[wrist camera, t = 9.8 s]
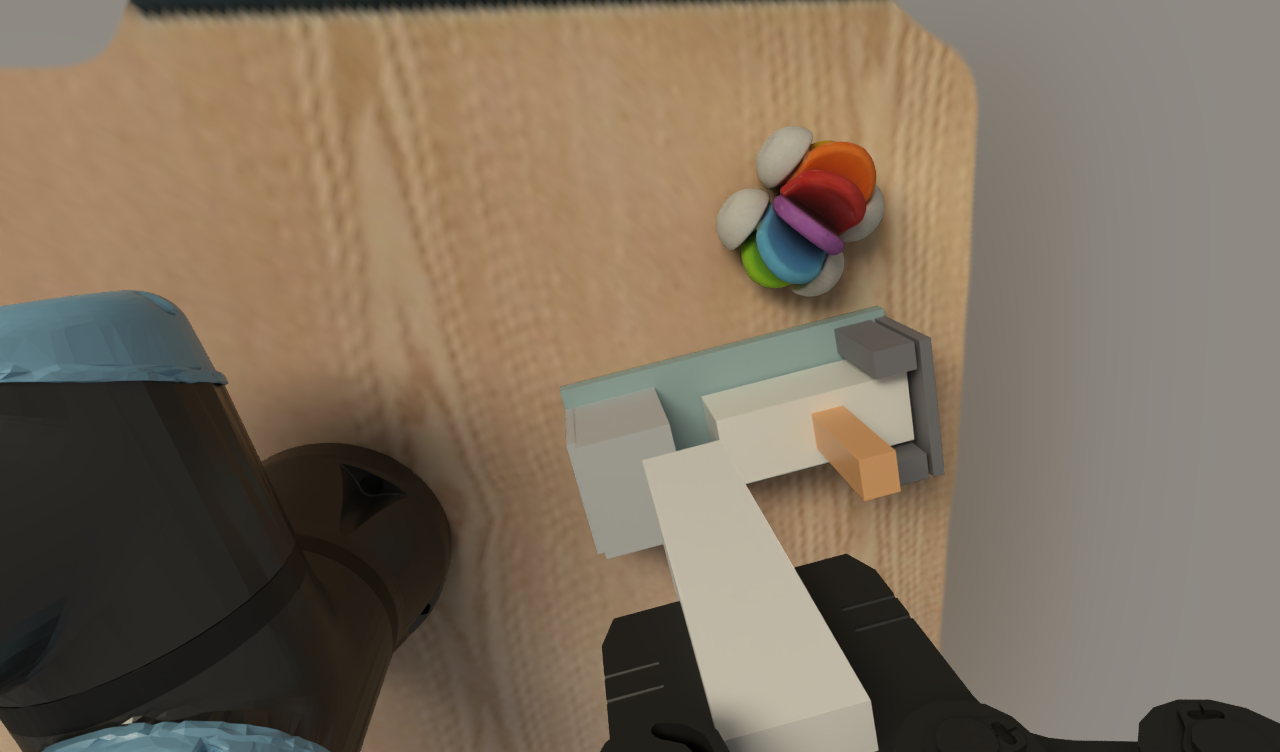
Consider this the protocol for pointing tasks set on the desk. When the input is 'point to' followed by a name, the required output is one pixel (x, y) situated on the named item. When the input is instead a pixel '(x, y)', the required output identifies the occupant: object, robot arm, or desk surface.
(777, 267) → the rainbow disc toy
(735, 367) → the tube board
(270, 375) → the desk surface
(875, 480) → the block with wooden peg
